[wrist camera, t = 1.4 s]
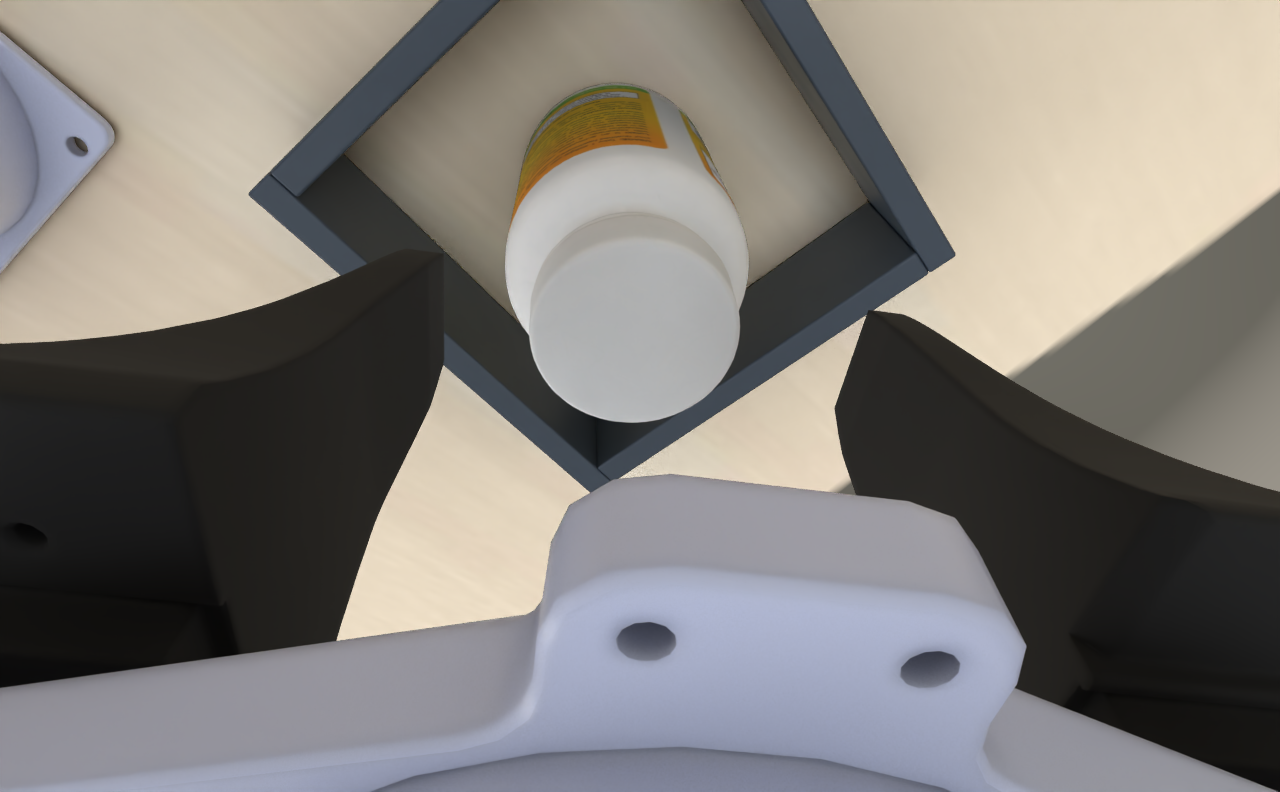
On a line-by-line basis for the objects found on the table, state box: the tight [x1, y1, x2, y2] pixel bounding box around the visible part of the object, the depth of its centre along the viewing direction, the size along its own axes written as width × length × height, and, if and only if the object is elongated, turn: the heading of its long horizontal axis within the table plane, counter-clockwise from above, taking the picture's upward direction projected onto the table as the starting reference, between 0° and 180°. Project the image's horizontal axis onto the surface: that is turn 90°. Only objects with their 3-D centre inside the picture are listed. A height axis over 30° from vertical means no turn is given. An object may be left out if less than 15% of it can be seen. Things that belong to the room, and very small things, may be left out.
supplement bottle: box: [505, 83, 749, 423], centre depth 18 cm, size 5×5×10 cm
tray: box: [249, 0, 955, 493], centre depth 20 cm, size 13×13×4 cm
